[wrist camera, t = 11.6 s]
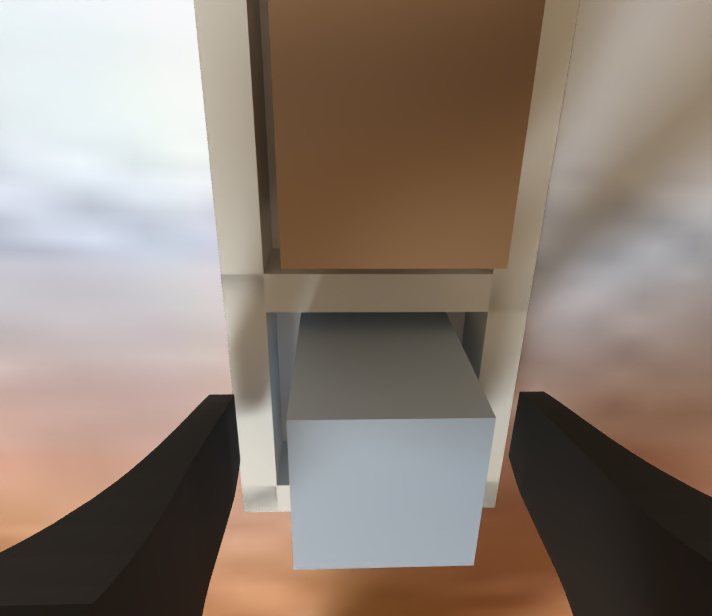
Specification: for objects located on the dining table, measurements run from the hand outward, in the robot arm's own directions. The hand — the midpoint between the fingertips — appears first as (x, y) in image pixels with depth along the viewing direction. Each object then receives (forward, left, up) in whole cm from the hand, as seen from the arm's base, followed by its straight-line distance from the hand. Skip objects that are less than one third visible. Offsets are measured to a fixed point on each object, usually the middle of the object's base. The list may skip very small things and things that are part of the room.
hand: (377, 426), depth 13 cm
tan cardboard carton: (+8, 0, -3) cm, 9 cm away
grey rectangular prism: (0, 0, -3) cm, 3 cm away
